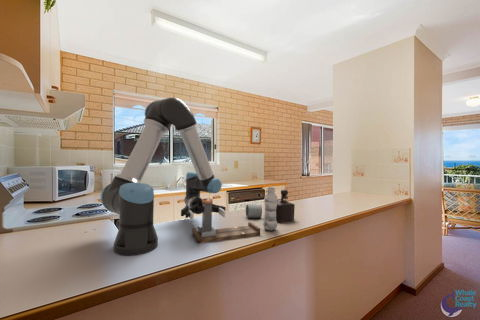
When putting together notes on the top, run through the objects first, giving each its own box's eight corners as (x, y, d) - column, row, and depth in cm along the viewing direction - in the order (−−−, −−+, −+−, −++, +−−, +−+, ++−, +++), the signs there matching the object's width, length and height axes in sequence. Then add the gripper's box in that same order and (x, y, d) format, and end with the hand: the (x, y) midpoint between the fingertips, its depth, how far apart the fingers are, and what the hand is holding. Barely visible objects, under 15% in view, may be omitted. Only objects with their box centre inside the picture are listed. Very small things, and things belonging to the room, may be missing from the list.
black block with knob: (267, 217, 130) (268, 186, 130) (284, 216, 134) (284, 185, 134) (282, 225, 116) (283, 190, 115) (300, 223, 120) (301, 189, 120)
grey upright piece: (201, 237, 92) (202, 201, 92) (197, 232, 99) (198, 198, 98) (216, 235, 95) (216, 200, 94) (211, 230, 101) (211, 197, 101)
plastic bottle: (272, 227, 113) (273, 186, 113) (279, 231, 107) (280, 188, 107) (260, 228, 111) (261, 187, 111) (267, 232, 105) (268, 189, 104)
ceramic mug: (262, 219, 127) (262, 205, 127) (248, 219, 126) (248, 205, 126) (257, 214, 138) (257, 201, 138) (243, 214, 136) (244, 202, 136)
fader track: (197, 243, 90) (197, 236, 90) (192, 235, 99) (192, 228, 99) (260, 235, 101) (260, 228, 101) (250, 228, 110) (250, 222, 110)
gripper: (220, 210, 119) (236, 221, 100) (171, 214, 109) (178, 227, 90) (220, 196, 119) (236, 204, 100) (171, 199, 109) (178, 208, 90)
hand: (209, 215), depth 95 cm, fingers open, 13 cm apart
